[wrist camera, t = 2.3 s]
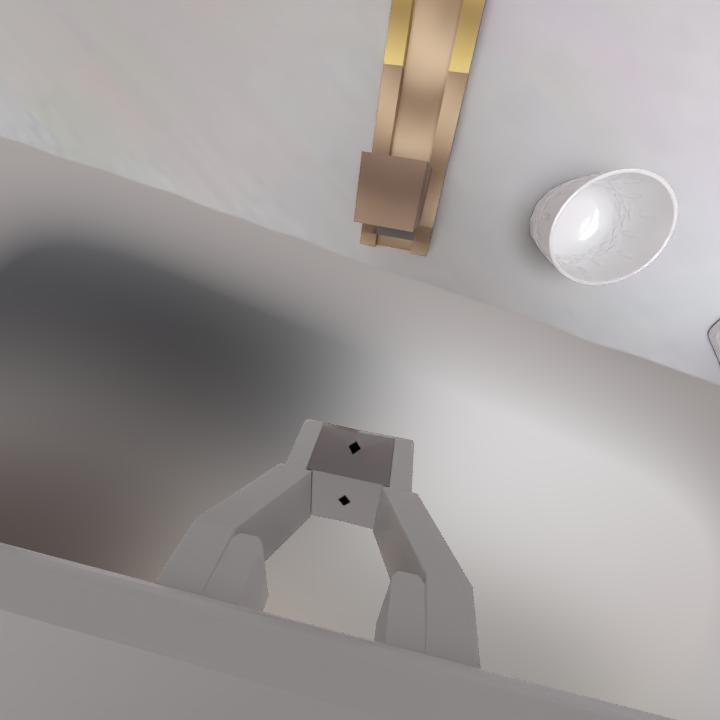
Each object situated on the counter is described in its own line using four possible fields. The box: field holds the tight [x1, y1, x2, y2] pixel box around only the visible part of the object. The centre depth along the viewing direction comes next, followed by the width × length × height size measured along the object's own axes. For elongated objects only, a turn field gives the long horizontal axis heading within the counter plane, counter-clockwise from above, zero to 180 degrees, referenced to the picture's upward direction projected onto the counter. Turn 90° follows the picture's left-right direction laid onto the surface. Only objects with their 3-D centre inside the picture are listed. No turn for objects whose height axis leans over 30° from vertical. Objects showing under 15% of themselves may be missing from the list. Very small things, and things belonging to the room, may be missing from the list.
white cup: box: [530, 168, 678, 285], centre depth 28 cm, size 8×8×10 cm
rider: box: [354, 151, 432, 232], centre depth 28 cm, size 4×4×10 cm
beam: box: [360, 0, 486, 256], centre depth 30 cm, size 24×7×4 cm, turn 172°
